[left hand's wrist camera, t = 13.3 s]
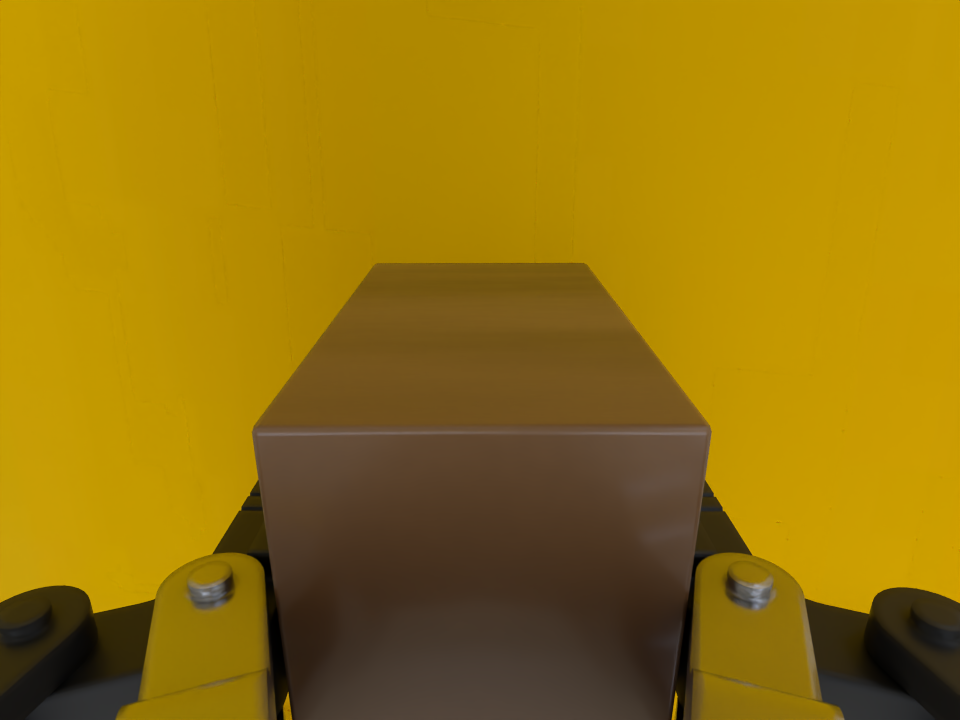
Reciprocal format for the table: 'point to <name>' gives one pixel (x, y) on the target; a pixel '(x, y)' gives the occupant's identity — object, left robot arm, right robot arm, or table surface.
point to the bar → (481, 503)
